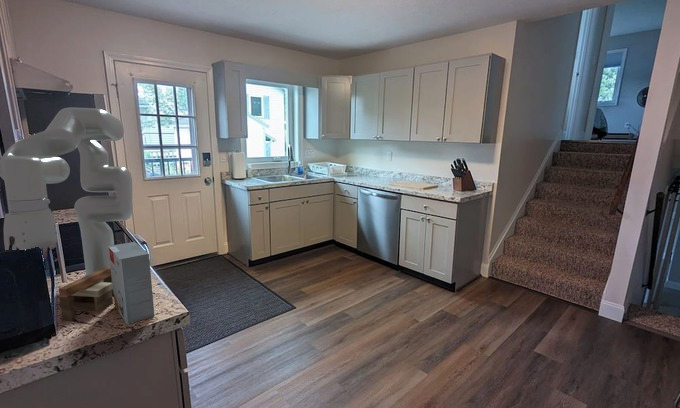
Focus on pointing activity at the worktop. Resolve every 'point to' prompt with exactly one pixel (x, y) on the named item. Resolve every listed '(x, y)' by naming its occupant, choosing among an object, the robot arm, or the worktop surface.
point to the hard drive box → (131, 281)
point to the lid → (95, 290)
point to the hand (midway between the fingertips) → (38, 275)
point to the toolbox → (85, 303)
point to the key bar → (84, 282)
